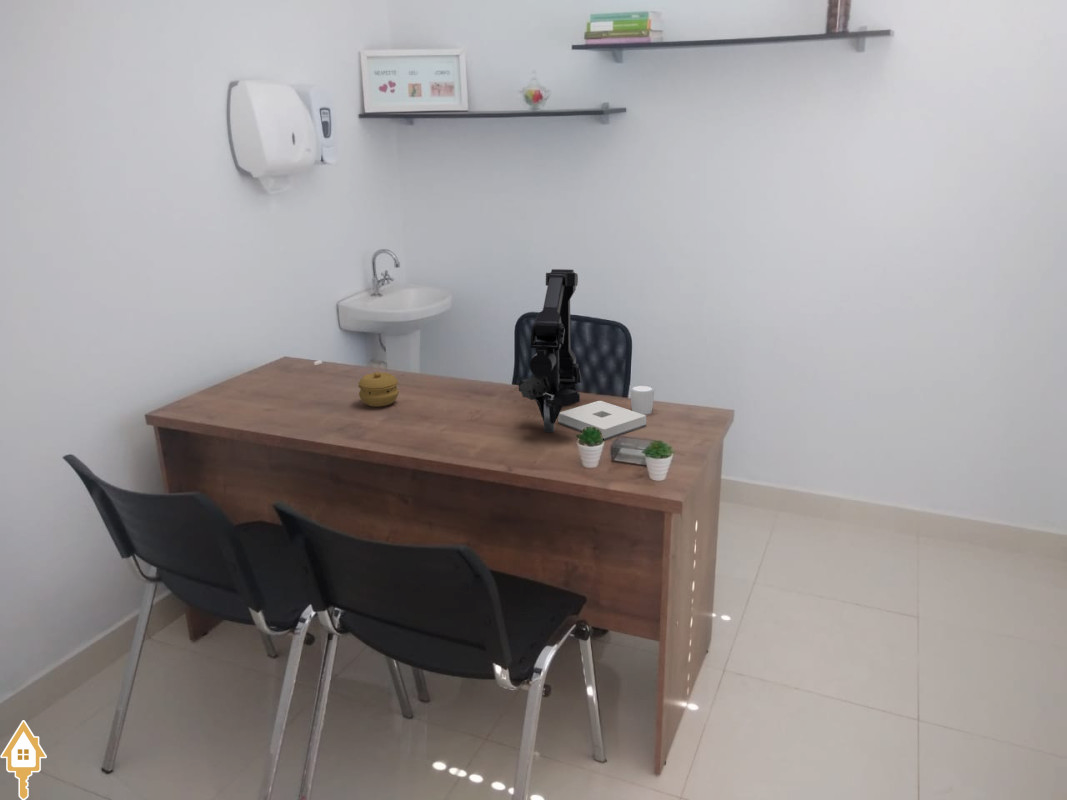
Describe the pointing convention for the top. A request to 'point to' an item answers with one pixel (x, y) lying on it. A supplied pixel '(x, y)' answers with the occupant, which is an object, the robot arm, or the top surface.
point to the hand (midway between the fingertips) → (549, 421)
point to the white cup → (642, 399)
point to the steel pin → (547, 417)
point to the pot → (378, 389)
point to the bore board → (602, 419)
